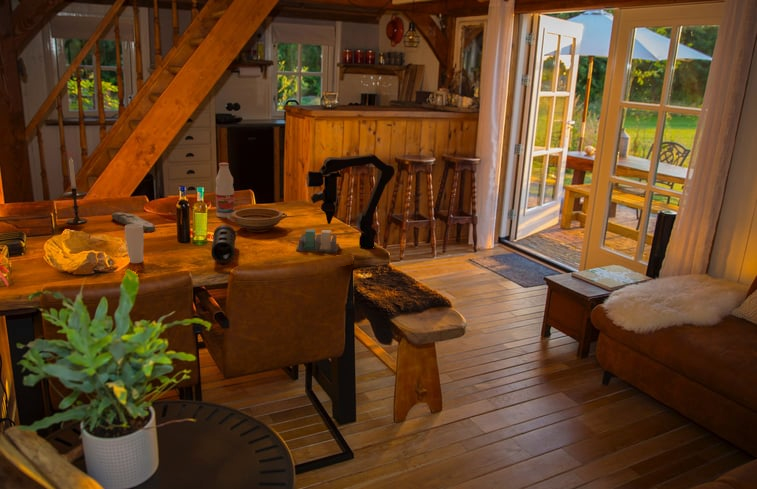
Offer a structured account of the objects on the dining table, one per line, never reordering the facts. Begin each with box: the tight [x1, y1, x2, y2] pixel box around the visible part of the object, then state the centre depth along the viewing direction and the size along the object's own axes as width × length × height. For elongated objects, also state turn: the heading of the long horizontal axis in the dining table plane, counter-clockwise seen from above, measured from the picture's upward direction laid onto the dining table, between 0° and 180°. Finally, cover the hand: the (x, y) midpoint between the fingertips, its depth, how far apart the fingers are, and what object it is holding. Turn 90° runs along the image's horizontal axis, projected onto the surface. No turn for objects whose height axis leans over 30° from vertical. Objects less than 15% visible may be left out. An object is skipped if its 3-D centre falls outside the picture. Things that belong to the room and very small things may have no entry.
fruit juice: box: [215, 162, 236, 219], centre depth 315 cm, size 9×9×28 cm
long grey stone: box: [111, 211, 156, 233], centre depth 294 cm, size 35×5×10 cm
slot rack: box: [295, 233, 340, 254], centre depth 269 cm, size 18×11×5 cm, turn 89°
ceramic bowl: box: [227, 207, 288, 233], centre depth 296 cm, size 30×24×8 cm
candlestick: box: [61, 150, 88, 226], centre depth 289 cm, size 11×11×35 cm
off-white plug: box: [320, 229, 332, 248], centre depth 268 cm, size 4×4×7 cm
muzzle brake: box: [210, 224, 237, 266], centre depth 253 cm, size 10×28×10 cm, turn 12°
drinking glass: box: [124, 224, 145, 264], centre depth 239 cm, size 7×7×15 cm
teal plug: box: [304, 228, 316, 247], centre depth 268 cm, size 4×4×7 cm
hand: (329, 221), depth 267 cm, fingers open, 9 cm apart
